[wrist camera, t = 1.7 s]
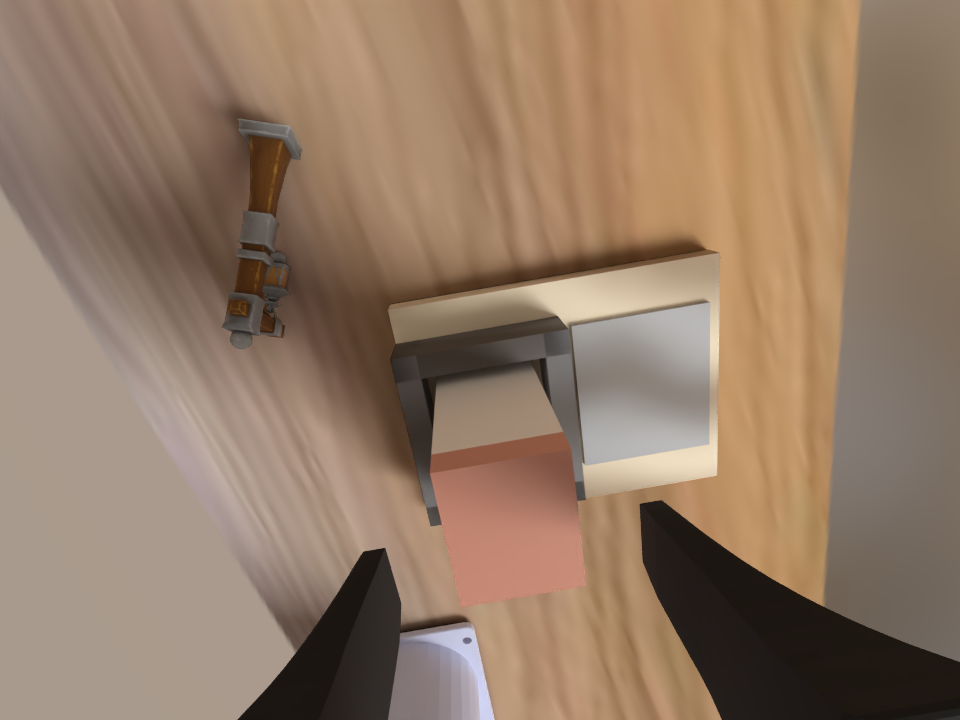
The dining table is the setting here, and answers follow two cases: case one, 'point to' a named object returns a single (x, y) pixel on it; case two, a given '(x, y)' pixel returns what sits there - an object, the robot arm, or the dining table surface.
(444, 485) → the plug
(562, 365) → the board
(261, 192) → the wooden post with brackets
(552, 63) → the dining table surface
